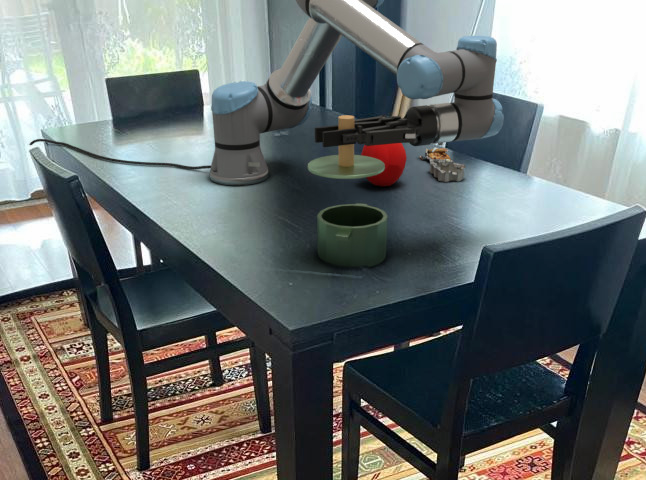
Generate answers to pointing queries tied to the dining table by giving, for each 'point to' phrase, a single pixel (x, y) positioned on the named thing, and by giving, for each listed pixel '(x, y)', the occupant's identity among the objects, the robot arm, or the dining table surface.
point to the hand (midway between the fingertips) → (319, 137)
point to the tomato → (387, 162)
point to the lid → (346, 160)
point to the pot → (352, 235)
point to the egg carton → (446, 170)
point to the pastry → (436, 154)
